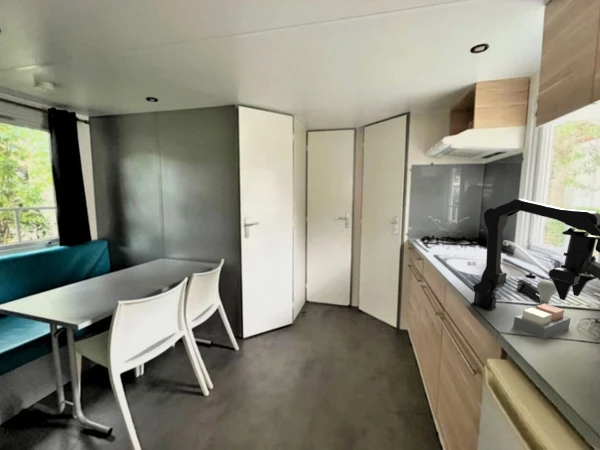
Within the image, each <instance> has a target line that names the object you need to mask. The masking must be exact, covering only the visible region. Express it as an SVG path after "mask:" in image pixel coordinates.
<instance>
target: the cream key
mask: <svg viewBox="0 0 600 450" xmlns="http://www.w3.org/2000/svg"><path fill="white" fill-rule="evenodd" d="M522 314H523V316H522V318H524V319H527V320H529V321H532V322H534V323H537V324H540V325H542V326H544V325H546V324H549V323H551V317H552V314H549V313H546V312H544V311H541V310H538V309H536V307H529V308H526V309H523V311H522Z"/></svg>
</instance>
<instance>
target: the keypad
mask: <svg viewBox="0 0 600 450" xmlns="http://www.w3.org/2000/svg"><path fill="white" fill-rule="evenodd" d="M522 316H523V313H521V314H518V315H515V316H514V320H513V326H512V327H513V328H514V329H517V330H519V331H521V332H524V333H526V334H529V335H530V336H532V337H536V338H538V339H540V340H542V341H545V340H547V339H549V338H552V337H553V336H554V337H555V335H559V334H561V333H563V332H565V331H567V330H569V328H570V323H571V317H569V316H565V315H563V318H561V319H559V320H556V321H555V320H553V319H551V323H549V324H546V325H544V326H542V325H540V324H537V323H534V322H532V321H529V320H527V319H524V318H522Z"/></svg>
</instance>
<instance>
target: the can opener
mask: <svg viewBox="0 0 600 450" xmlns="http://www.w3.org/2000/svg"><path fill="white" fill-rule="evenodd" d="M516 290H517V291H519V292H521V293H526V294H528V295H530V296H531V297H532V298H533V299H534V300H535V301H537V302H538V303H540V294H539V292H538V290H537V286H535V285H534V284H532V283H531V282H528V281H526V280H524V279H519V280H518V281H517V286H516Z"/></svg>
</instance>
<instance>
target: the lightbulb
mask: <svg viewBox="0 0 600 450" xmlns="http://www.w3.org/2000/svg"><path fill="white" fill-rule="evenodd" d="M536 288H537V290H538V292H539V294H540V295H539V297H540V302H539V305H541V304H544V303H545V304H548V305H549V302H550V301H551V298H552V297H553V296H554V294H556V292H557V290H556V287H555V285H554V283H553V281H551V280H548V279H543V280H540V281H539V282H537V284H536Z"/></svg>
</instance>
